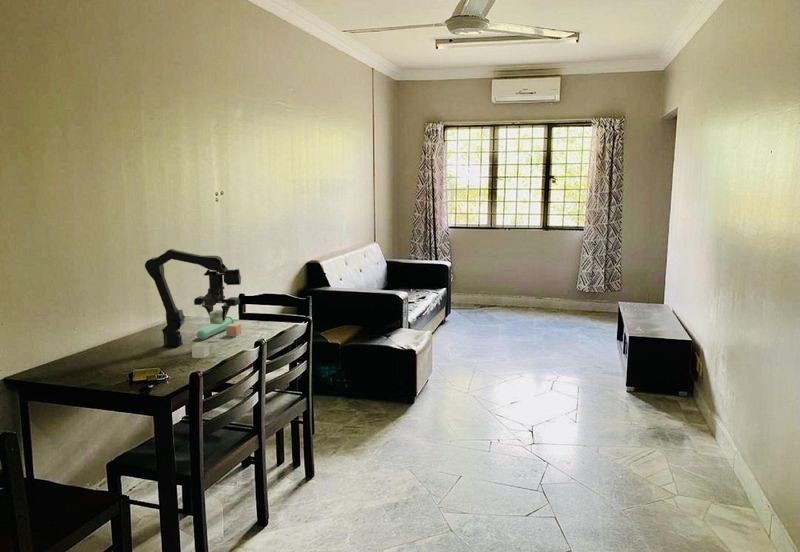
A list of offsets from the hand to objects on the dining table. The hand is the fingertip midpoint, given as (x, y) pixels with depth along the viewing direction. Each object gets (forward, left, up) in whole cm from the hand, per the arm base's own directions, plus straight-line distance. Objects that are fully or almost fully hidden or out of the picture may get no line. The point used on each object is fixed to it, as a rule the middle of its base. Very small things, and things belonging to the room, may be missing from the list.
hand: (218, 320), depth 259 cm
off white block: (0, -17, -11) cm, 20 cm away
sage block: (0, 0, -1) cm, 1 cm away
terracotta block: (0, +16, -11) cm, 19 cm away
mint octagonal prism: (-10, +18, -11) cm, 24 cm away
